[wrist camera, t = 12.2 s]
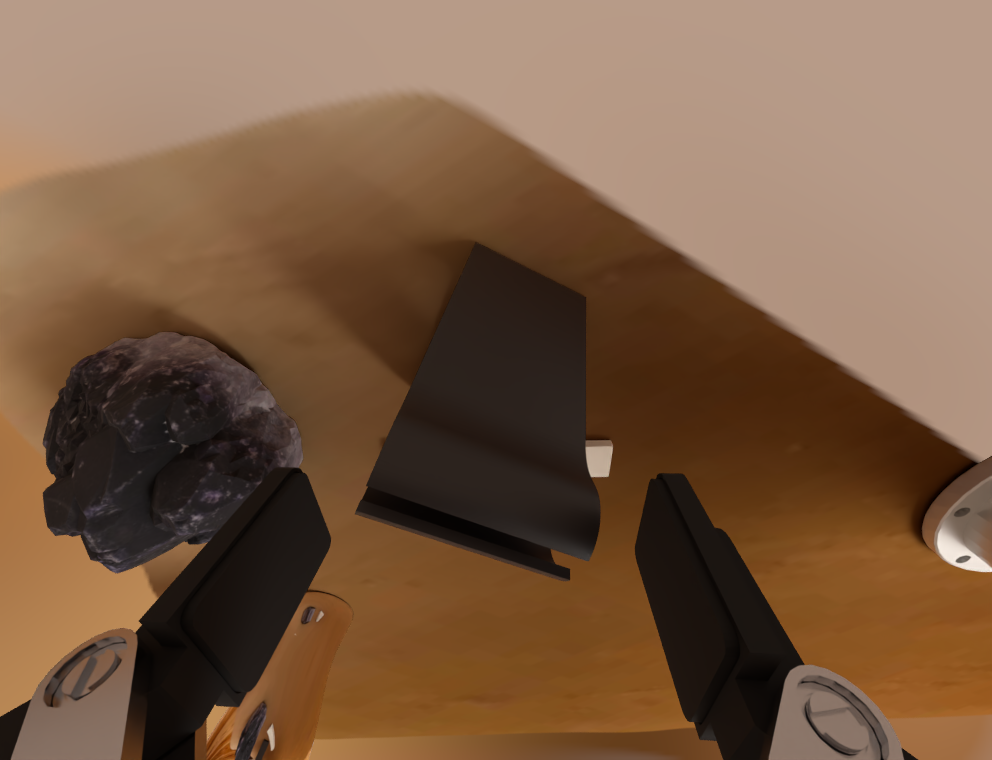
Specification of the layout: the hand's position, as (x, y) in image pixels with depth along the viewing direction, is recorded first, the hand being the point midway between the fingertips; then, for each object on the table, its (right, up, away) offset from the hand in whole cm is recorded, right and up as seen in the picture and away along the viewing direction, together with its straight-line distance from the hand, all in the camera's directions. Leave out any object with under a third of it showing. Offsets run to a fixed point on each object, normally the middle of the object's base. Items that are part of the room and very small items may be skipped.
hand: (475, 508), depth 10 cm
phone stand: (0, +6, +10) cm, 11 cm away
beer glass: (-16, -17, +23) cm, 33 cm away
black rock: (-18, +1, +13) cm, 22 cm away
